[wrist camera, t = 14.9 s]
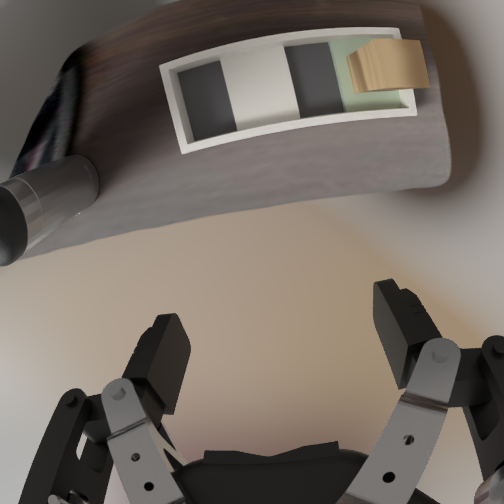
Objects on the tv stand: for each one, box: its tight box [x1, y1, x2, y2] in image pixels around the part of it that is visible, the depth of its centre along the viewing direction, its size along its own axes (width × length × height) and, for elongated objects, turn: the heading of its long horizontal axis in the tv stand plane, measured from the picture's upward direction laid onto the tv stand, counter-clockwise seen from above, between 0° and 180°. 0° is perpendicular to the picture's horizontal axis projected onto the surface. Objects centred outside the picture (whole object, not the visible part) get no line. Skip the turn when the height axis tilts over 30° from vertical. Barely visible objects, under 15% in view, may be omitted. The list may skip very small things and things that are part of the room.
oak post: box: [346, 39, 430, 93], centre depth 25 cm, size 5×5×11 cm
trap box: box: [159, 27, 417, 154], centre depth 31 cm, size 30×12×4 cm, turn 103°
